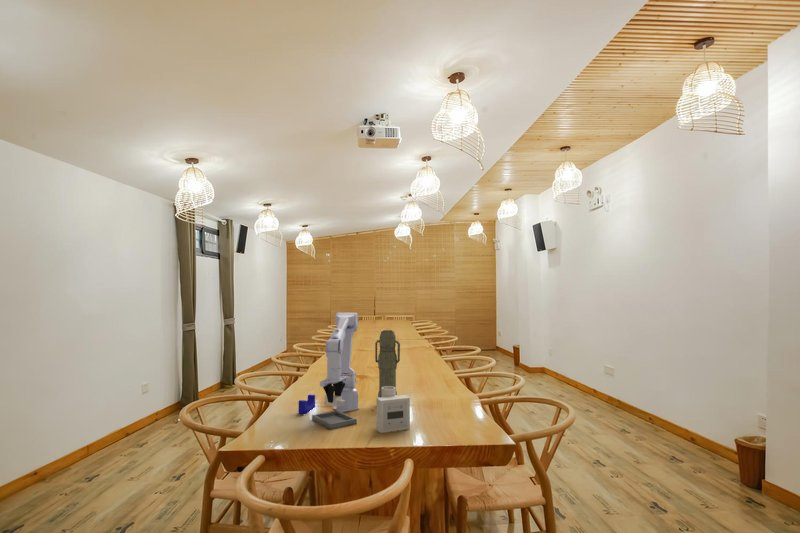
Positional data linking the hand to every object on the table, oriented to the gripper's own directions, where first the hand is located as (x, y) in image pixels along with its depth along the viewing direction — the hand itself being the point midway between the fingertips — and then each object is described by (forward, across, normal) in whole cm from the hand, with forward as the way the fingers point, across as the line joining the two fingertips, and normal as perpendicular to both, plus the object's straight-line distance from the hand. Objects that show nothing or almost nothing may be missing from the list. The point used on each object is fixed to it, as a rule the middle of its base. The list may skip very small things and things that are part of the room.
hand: (333, 401), depth 183 cm
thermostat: (+9, -9, +22) cm, 25 cm away
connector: (+2, 0, 0) cm, 2 cm away
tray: (+8, 0, 0) cm, 8 cm away
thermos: (+9, -34, +2) cm, 35 cm away
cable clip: (+9, -5, -22) cm, 25 cm away
